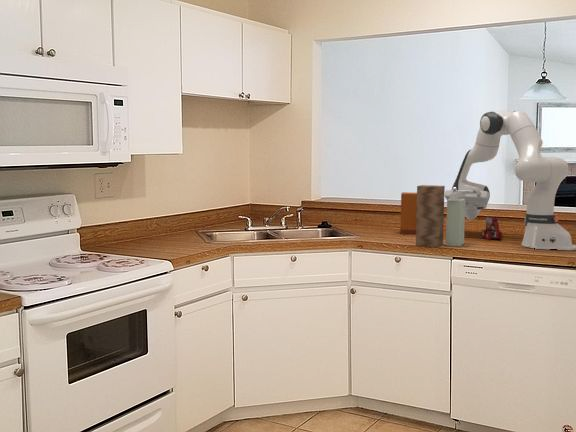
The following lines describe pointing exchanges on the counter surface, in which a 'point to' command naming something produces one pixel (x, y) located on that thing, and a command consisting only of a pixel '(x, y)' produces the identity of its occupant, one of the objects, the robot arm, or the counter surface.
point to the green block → (455, 222)
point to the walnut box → (430, 215)
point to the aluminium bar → (457, 195)
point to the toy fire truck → (491, 229)
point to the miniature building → (408, 213)
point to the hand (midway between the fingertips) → (464, 189)
